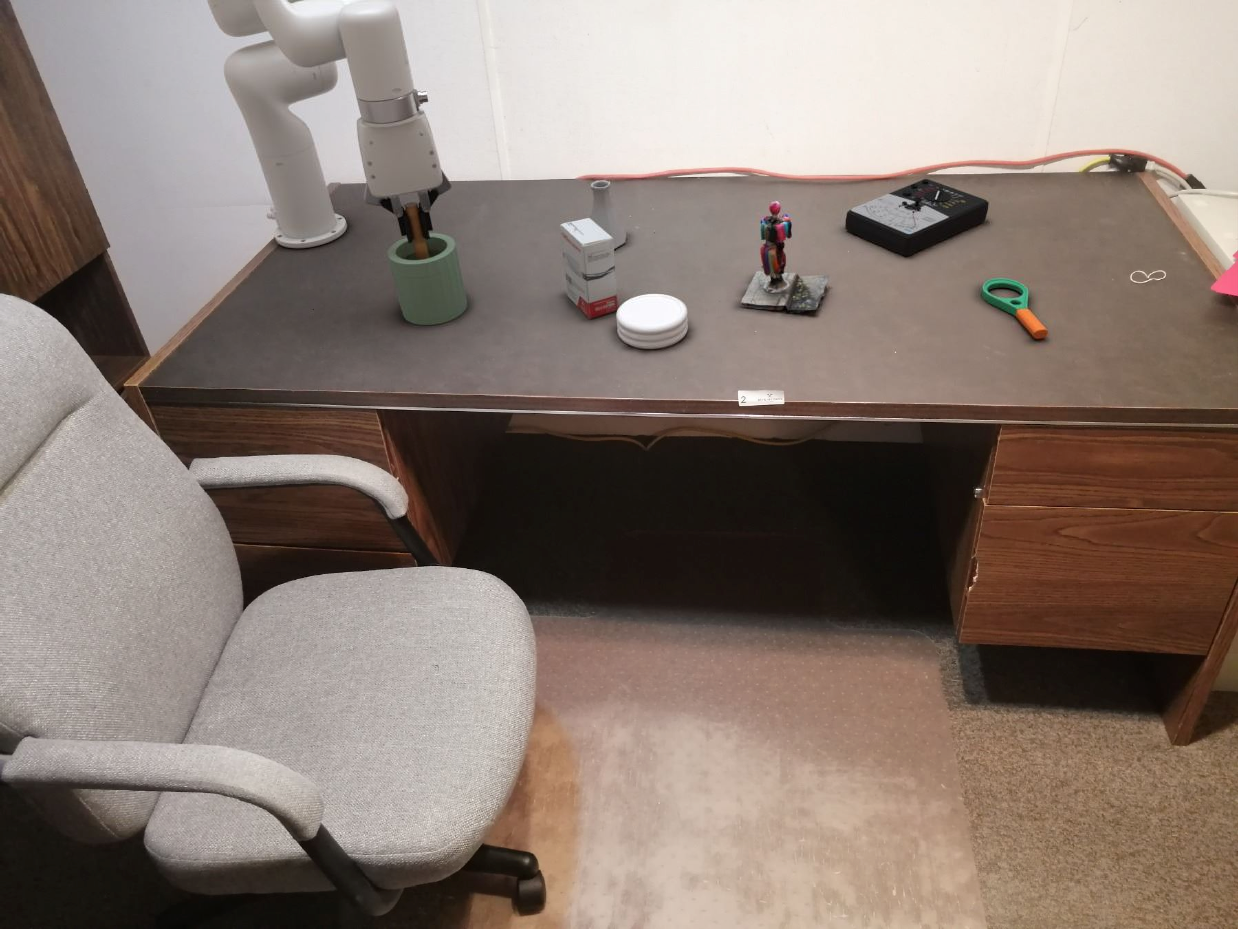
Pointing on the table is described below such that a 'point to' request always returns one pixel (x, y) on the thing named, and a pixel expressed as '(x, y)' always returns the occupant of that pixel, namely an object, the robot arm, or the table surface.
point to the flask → (606, 212)
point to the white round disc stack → (652, 321)
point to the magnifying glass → (1014, 304)
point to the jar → (428, 281)
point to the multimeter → (916, 216)
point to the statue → (781, 272)
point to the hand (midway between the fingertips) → (418, 236)
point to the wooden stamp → (416, 231)
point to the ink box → (589, 267)
